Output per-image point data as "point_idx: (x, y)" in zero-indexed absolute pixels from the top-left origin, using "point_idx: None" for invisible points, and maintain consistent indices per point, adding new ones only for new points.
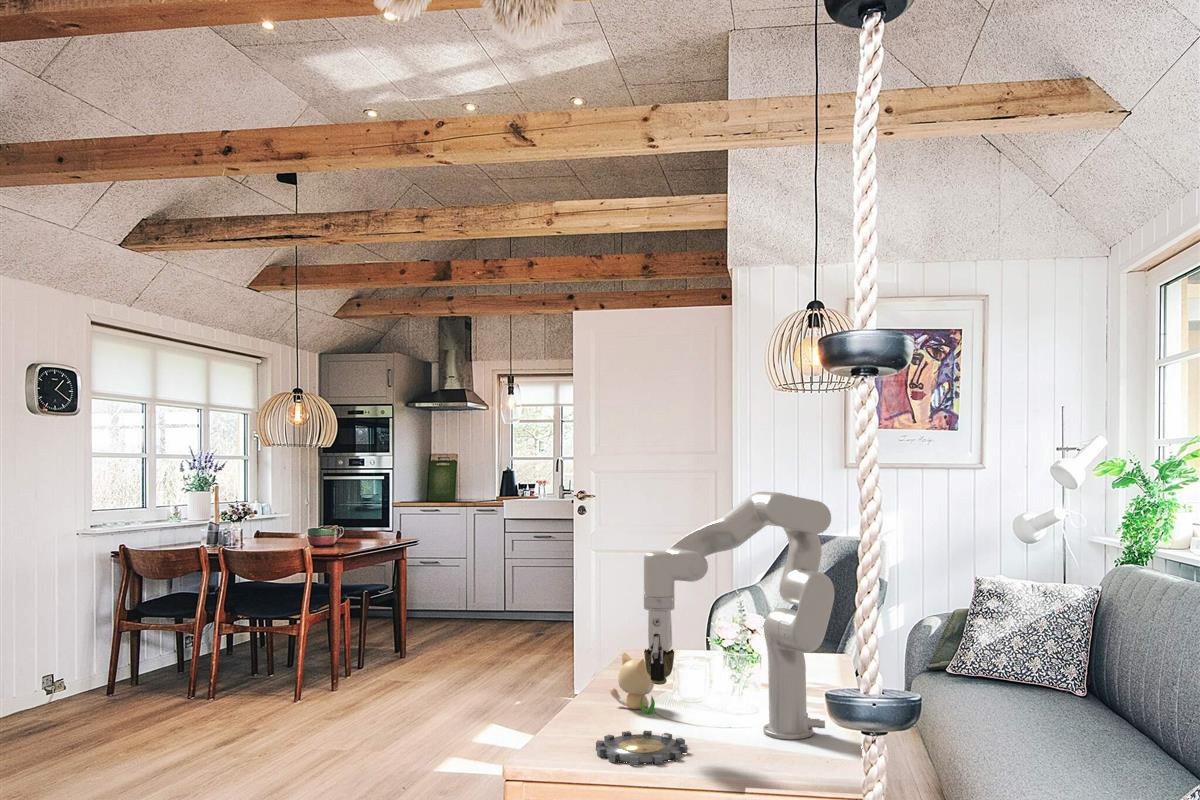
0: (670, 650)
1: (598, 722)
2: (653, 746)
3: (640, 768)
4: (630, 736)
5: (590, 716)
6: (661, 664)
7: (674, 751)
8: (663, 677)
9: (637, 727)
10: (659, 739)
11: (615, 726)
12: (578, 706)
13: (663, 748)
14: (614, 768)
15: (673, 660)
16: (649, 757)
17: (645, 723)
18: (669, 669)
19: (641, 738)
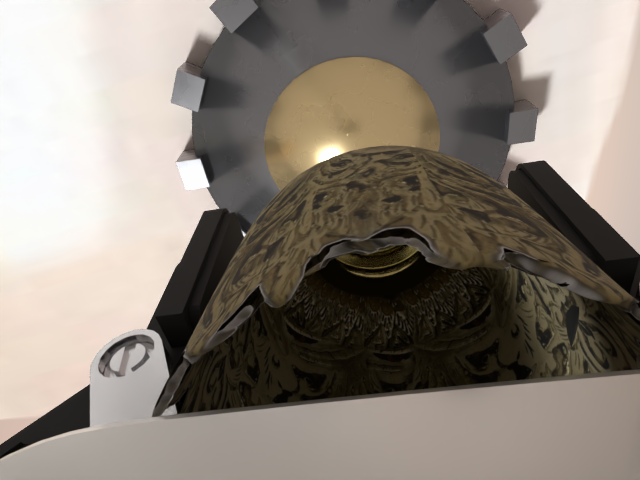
0: (195, 361)
1: (112, 338)
2: (353, 100)
3: (554, 83)
4: (250, 216)
5: (72, 368)
6: (628, 280)
7: None
8: (551, 174)
9: (89, 231)
10: (242, 107)
11: (121, 290)
12: (9, 412)
13: (357, 53)
14: (557, 169)
15: (380, 189)
16: (489, 75)
17: (28, 221)
18: (473, 167)
19: (257, 175)
